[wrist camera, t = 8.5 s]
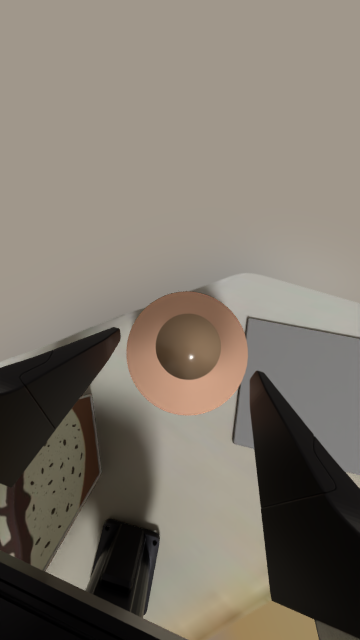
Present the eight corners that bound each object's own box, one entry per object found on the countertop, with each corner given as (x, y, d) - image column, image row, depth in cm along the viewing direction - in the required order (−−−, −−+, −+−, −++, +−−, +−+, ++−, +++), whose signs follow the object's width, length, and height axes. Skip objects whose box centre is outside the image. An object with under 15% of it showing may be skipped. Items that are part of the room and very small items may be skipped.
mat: (370, 475, 18) (374, 478, 17) (232, 441, 19) (234, 443, 18) (365, 340, 21) (369, 340, 20) (247, 318, 22) (249, 318, 21)
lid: (265, 382, 16) (389, 429, 6) (152, 432, 16) (97, 569, 6) (214, 279, 19) (246, 200, 9) (115, 318, 18) (34, 280, 8)
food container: (46, 394, 21) (-79, 433, 11) (90, 382, 21) (6, 410, 11) (53, 500, 18) (-100, 676, 8) (103, 486, 18) (9, 644, 8)
